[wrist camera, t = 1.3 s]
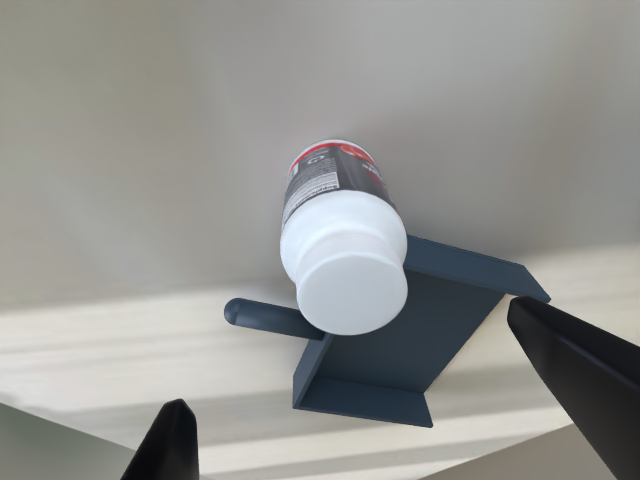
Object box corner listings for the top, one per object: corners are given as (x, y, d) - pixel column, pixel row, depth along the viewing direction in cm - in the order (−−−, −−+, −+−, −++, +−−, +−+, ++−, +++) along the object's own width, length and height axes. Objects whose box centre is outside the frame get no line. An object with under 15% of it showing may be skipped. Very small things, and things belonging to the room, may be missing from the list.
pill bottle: (396, 186, 21) (455, 303, 13) (326, 236, 23) (339, 367, 14) (340, 115, 18) (369, 204, 10) (267, 177, 20) (242, 295, 12)
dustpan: (523, 265, 25) (551, 299, 22) (420, 391, 33) (431, 428, 30) (252, 193, 21) (244, 223, 18) (213, 358, 29) (203, 396, 26)
